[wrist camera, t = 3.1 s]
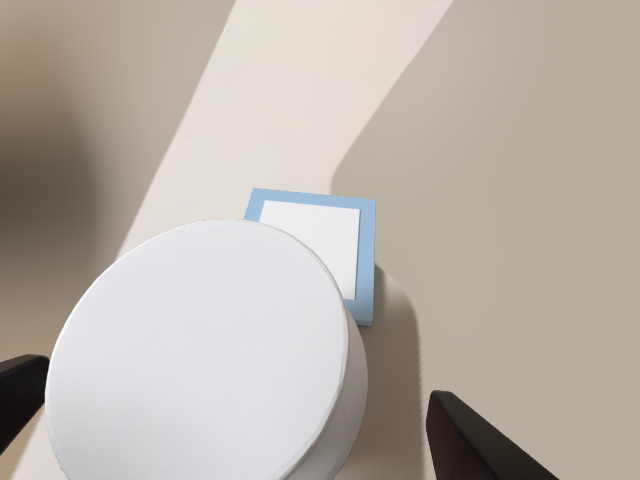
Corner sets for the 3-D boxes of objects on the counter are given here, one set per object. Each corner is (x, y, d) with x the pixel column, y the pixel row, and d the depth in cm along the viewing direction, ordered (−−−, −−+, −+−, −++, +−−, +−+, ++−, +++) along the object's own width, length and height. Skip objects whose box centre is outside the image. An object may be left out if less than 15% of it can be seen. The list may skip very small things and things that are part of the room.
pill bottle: (357, 471, 13) (471, 565, 3) (206, 501, 12) (-146, 713, 3) (331, 325, 16) (354, 172, 7) (211, 343, 16) (55, 203, 6)
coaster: (370, 326, 16) (373, 321, 15) (221, 308, 16) (217, 302, 16) (373, 207, 20) (376, 198, 20) (255, 196, 21) (253, 186, 20)
